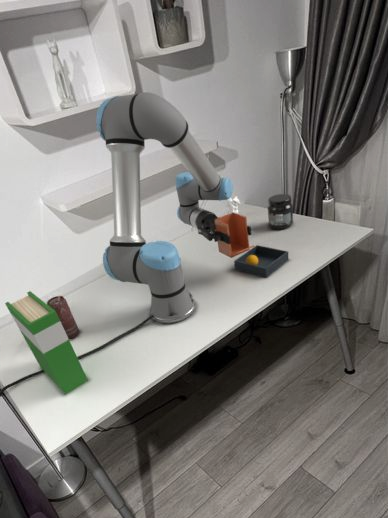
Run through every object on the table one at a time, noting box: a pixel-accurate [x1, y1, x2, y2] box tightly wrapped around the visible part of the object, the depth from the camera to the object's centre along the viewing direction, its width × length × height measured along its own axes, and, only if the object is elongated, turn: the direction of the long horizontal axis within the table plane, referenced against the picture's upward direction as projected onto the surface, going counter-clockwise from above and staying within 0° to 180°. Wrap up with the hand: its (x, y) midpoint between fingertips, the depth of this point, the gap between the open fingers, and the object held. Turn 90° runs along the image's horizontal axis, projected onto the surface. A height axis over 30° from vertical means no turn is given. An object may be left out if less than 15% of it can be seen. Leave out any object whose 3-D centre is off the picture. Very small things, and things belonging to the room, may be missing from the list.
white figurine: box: [225, 195, 241, 214], centre depth 186 cm, size 8×7×12 cm
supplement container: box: [267, 193, 294, 231], centre depth 172 cm, size 10×10×12 cm
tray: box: [233, 244, 289, 278], centre depth 149 cm, size 14×14×4 cm
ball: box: [246, 255, 258, 266], centre depth 148 cm, size 5×5×5 cm
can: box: [46, 295, 80, 341], centre depth 132 cm, size 6×6×14 cm
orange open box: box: [214, 212, 255, 259], centre depth 139 cm, size 12×8×12 cm
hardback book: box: [5, 290, 89, 395], centre depth 112 cm, size 18×7×24 cm, turn 41°
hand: (239, 235), depth 136 cm, fingers closed on orange open box, 8 cm apart
